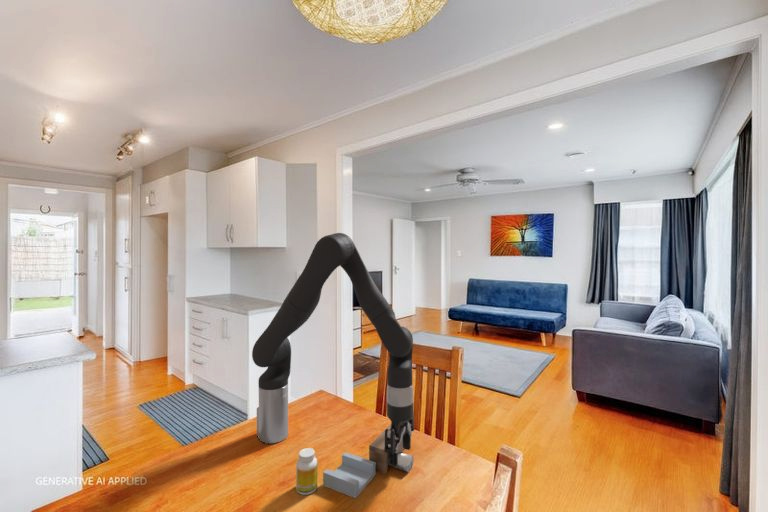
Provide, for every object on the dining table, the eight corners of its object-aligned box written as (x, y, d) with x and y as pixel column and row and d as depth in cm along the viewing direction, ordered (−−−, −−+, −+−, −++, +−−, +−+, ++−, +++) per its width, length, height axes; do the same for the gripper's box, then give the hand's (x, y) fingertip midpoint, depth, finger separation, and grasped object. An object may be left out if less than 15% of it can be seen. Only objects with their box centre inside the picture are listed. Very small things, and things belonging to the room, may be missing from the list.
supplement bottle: (294, 485, 92) (294, 449, 92) (314, 479, 94) (314, 444, 94) (298, 498, 87) (298, 460, 87) (319, 491, 90) (319, 455, 89)
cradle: (323, 485, 92) (323, 472, 92) (345, 464, 101) (345, 452, 101) (355, 498, 87) (355, 484, 87) (375, 474, 96) (375, 462, 96)
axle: (368, 461, 102) (370, 446, 102) (375, 457, 105) (377, 442, 106) (406, 474, 96) (408, 458, 97) (412, 469, 100) (414, 453, 100)
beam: (369, 468, 99) (369, 445, 99) (396, 437, 115) (396, 417, 115) (384, 473, 97) (384, 450, 96) (410, 441, 112) (410, 421, 112)
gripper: (401, 413, 90) (401, 474, 91) (422, 392, 103) (422, 447, 103) (375, 407, 94) (376, 466, 94) (399, 388, 106) (399, 440, 107)
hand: (400, 456), depth 99 cm, fingers open, 8 cm apart
